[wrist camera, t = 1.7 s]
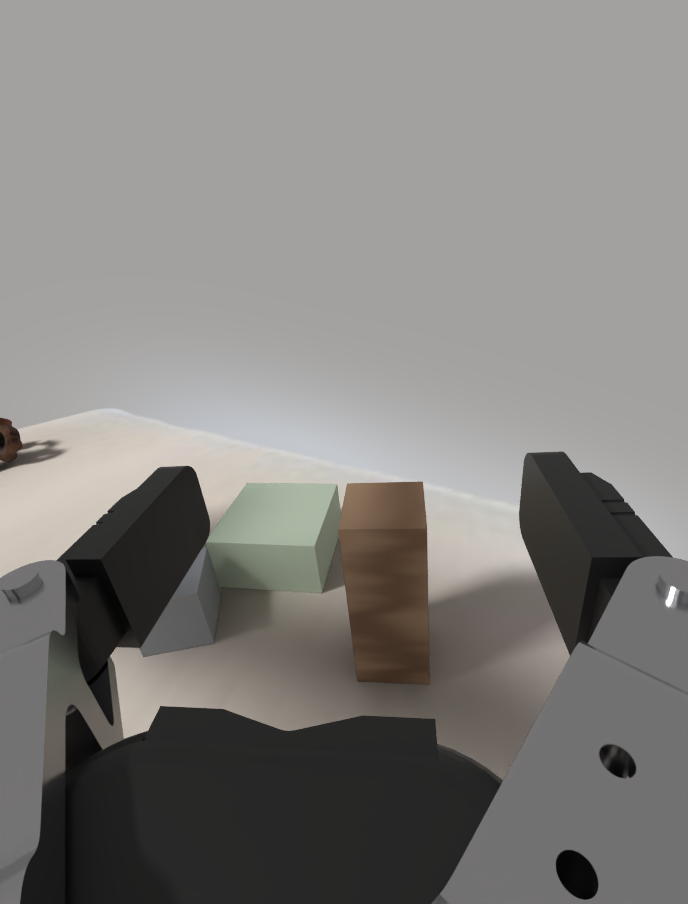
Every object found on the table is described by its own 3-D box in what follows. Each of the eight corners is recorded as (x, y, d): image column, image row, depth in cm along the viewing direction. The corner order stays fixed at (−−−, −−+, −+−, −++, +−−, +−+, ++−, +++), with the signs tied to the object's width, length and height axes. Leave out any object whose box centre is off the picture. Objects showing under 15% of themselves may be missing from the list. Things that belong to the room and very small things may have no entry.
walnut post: (357, 681, 28) (337, 529, 22) (362, 624, 32) (347, 483, 26) (429, 684, 27) (426, 528, 22) (425, 625, 31) (422, 481, 26)
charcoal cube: (143, 657, 31) (120, 607, 29) (160, 605, 35) (141, 557, 33) (214, 644, 31) (196, 593, 29) (221, 594, 36) (206, 546, 34)
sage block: (219, 588, 37) (205, 542, 34) (256, 524, 44) (247, 483, 42) (322, 595, 35) (314, 546, 33) (342, 527, 43) (337, 483, 40)
